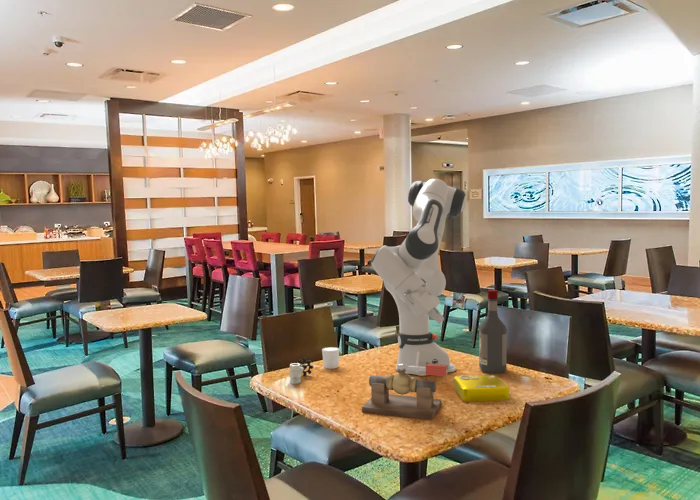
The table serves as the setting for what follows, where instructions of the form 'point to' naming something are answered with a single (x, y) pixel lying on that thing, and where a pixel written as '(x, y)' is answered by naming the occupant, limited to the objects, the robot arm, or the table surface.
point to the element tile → (481, 388)
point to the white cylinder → (330, 357)
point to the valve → (299, 371)
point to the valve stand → (402, 397)
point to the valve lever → (425, 369)
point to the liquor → (492, 339)
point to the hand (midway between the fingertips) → (442, 321)
